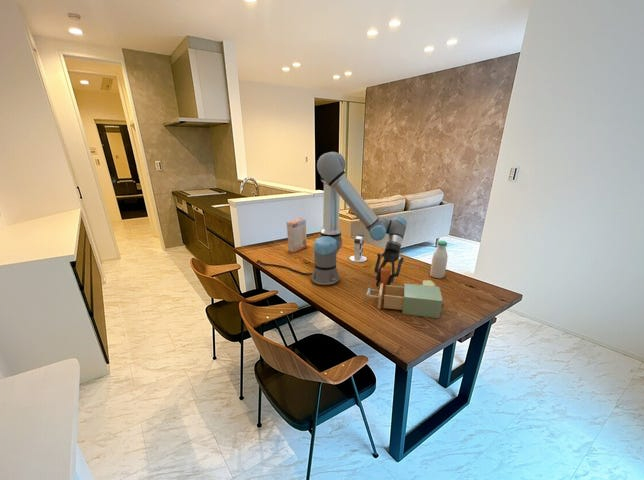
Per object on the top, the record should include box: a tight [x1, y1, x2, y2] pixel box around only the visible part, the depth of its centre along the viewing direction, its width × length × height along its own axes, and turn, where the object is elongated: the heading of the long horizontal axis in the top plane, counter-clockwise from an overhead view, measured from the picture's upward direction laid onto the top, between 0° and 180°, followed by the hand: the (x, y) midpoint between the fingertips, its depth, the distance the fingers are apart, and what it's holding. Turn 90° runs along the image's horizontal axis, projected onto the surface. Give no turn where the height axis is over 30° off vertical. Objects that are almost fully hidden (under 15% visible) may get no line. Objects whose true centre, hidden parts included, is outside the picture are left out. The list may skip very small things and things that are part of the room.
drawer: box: [365, 283, 404, 311], centre depth 137 cm, size 20×12×7 cm, turn 76°
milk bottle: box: [429, 240, 449, 279], centre depth 163 cm, size 8×8×20 cm
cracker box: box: [286, 217, 308, 254], centre depth 205 cm, size 14×6×21 cm, turn 144°
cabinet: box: [401, 282, 444, 319], centre depth 134 cm, size 16×14×9 cm
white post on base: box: [348, 233, 368, 263], centre depth 189 cm, size 12×11×15 cm
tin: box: [378, 266, 392, 294], centre depth 149 cm, size 5×5×12 cm
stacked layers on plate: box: [422, 279, 436, 286], centre depth 147 cm, size 10×9×6 cm
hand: (382, 286), depth 147 cm, fingers closed on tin, 5 cm apart
